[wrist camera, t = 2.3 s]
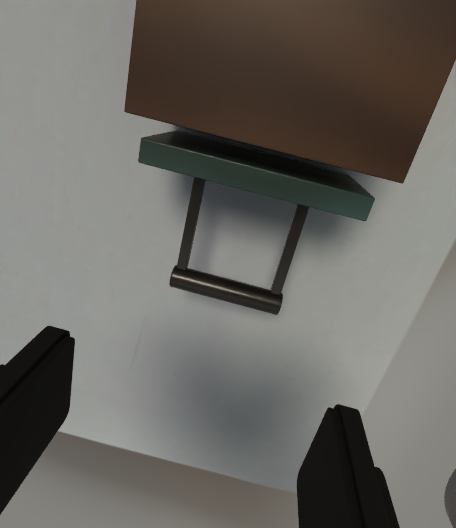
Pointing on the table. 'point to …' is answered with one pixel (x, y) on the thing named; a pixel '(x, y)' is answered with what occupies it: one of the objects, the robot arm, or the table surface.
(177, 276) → the drawer
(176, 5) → the cabinet
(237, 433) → the table surface
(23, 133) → the table surface
